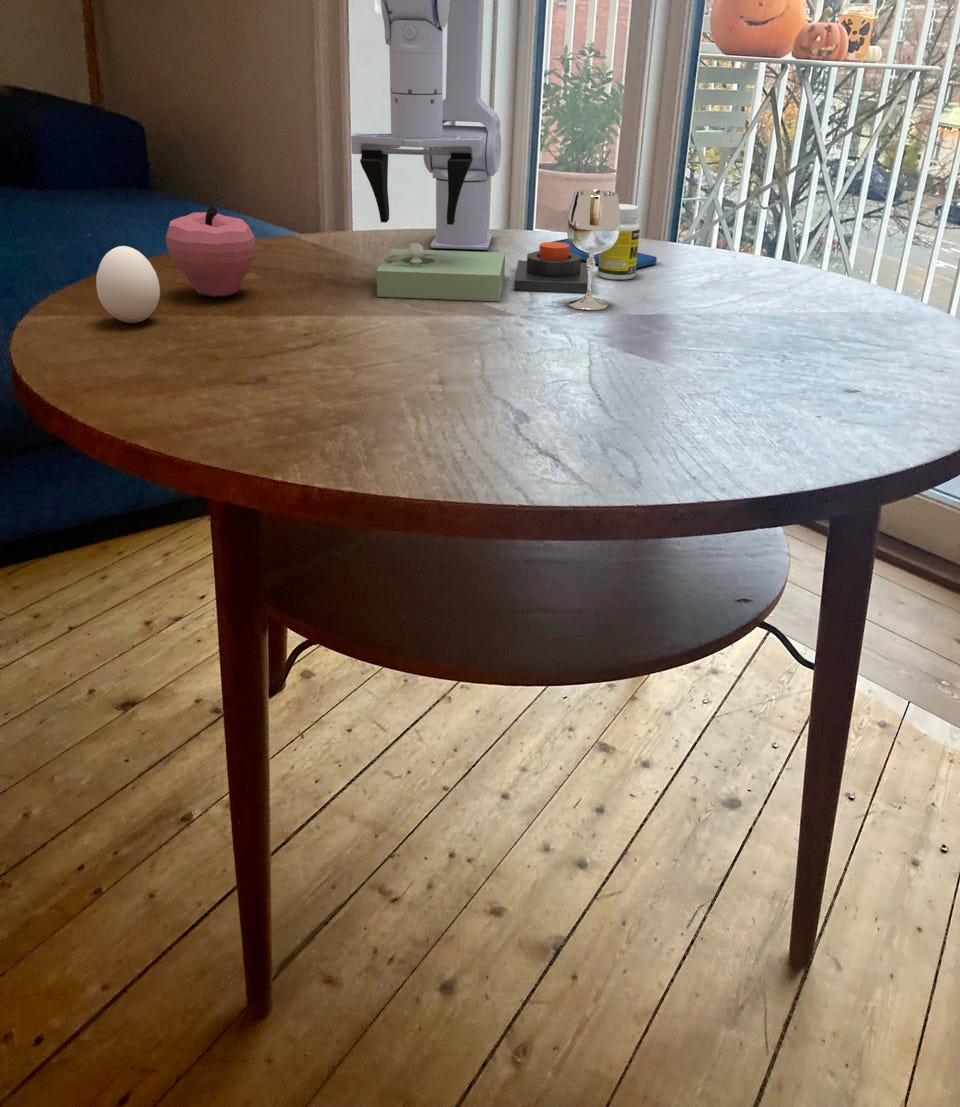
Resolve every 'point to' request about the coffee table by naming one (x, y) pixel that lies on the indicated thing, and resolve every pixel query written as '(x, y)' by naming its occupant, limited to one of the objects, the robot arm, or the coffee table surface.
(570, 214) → the wineglass
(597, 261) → the smartphone
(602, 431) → the coffee table surface
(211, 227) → the apple
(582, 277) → the panel
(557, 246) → the button
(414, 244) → the chess pawn
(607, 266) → the supplement bottle
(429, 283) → the pod holder
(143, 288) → the egg
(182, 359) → the coffee table surface
